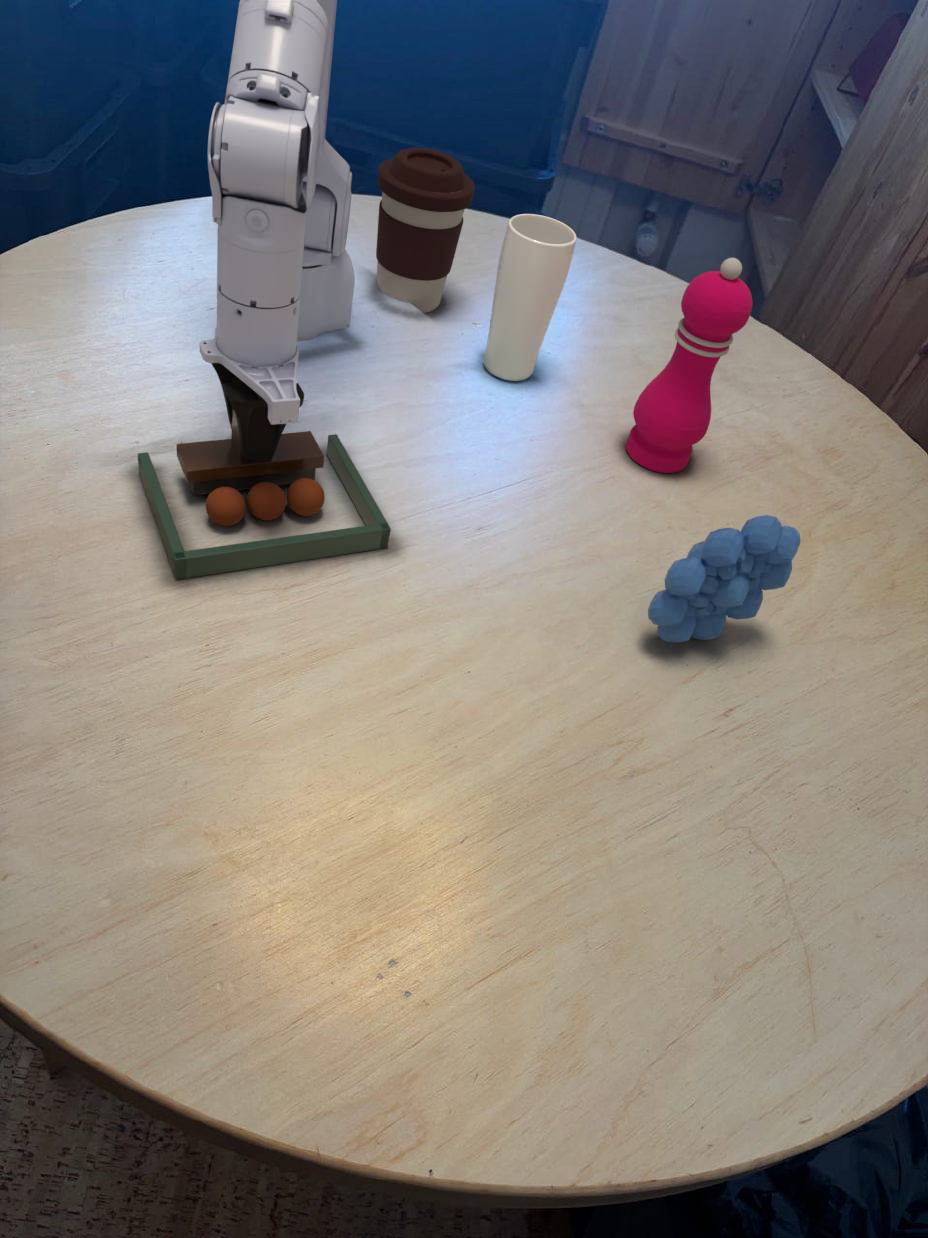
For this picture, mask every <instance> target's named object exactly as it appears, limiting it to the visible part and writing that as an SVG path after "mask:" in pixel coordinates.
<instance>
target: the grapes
mask: <svg viewBox="0 0 928 1238" xmlns="http://www.w3.org/2000/svg"><path fill="white" fill-rule="evenodd" d="M800 544H801V533H800V531H798V529H797V528H796V527H793V526H789V525H783V523H782V522H781V521H780V520H779V518H778V517H777V516H773V515H768V514H766V515H757V516H755V517H751V518H749V519H747V520H746V522H745V523H744V524H743V526H742V528H741V530H740V529H737V528H733V527H725V528H717V529H716V530H712V531H711V532H709V533H708V534H707V536H706V537H705V539H704V541H700V542H697V543H695V544H693V545H692V547H690V549H689V551H688V552H687V555H686V557H685V558H681V559H680V558H679V559H678V560H675V561H673V562H672V563H671V565H670V567H669V568H668V570H667V572H666V574H665V577H664V589H663V590H660V591H657V592H656V593H655V594H654V596H653V597H652V599H651V600H650V602H649V606H648V608H647V617H648V619H649V621H650V622H651V623H652V624H653V625H656V629H657V630H656V631H657V636H658V637H659V638H660V639H661V640H662V641H663V642H667V643H671V644H673V643H674V644H675V643H685V642H688V641H689V640H690V639H691V638H692V639H696V640H700V641H702V640H704V641H705V640H713V639H717V638H719V637H720V635H721V633H722V631H723V630H724V627H725V625H726V621H727V618H730V619H733V620H746V619H752V618H755V617H756V616H757V614H758V612H759V611H760V609H761V607H762V603H763V601H764V591H769V590H770V591H771V590H778V589H781V588H785V586H786V585H787V583H788V581H789V579H790V577H791V573H792V571H793V560H794V558H795V557H796V555H797V553H798V551H799V547H800Z"/></svg>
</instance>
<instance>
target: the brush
mask: <svg viewBox="0 0 928 1238" xmlns="http://www.w3.org/2000/svg"><path fill="white" fill-rule="evenodd" d="M237 382H243V381H242V380H240V379H239V378H238V377H233V379H232V383H237ZM230 436H231V437H230V438H224V439H212V440H203V441H193V442H182V443H176V457H177V460H178V462H179V465H180V467H181V470H182V472H183V475H184V477H185V481H186V483H187V484H188V485H189V488H190V490H191V493H192V495H193V496H199V495H209V494H210V493H211V492H212V491H214V490H215V489H217V488H220V487H231V488H233V489H236V490H237V491H242V490H250V489H251V488H252V487H253V486H254V485H256V484H258V483H261V482H271V483H274V484H276V485H277V486H283V485H291V484H292V483H293V482H294V481H296V480H298V479H301V478H309V479H313V480H315V481H316V474H317V473H316V472H317V471H316V470H317V469H323V468H324V463H325V454H324V453H323V451H322V449H321V448H320V445H319V444H318V442H317V441H316V438H315V437H314V435H313V433H312V431H311V430H306V431H296V432H286V433H282V435H281V437H280V440H279V442H278V445H277V448H276V451H275V453H274V456H273V458H272V460H271V461H270V462H263V463H254V464H246V462H245V460H244V457H243V454H242V450H241V446H240V438H239V430H238V423H237V419H236V415H235V412H234V409H233V407H232V430H231V435H230Z"/></svg>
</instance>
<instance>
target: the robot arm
mask: <svg viewBox="0 0 928 1238" xmlns="http://www.w3.org/2000/svg"><path fill="white" fill-rule="evenodd" d="M337 6H338V0H239V2H238V9H237V11H238V12H237V17H236V22H235V23H236V24H235V31H234V38H233V45H232V50H231V56H230V57H231V58H230V65H229V72H228V77H227V78H228V79H227V84H226V85H227V86H226V92H225V98H224V104H221V102H219V101H216V102H215V104H214V106H213V109H212V113H211V117H210V122H209V128H208V138H207V170H208V178H209V179H208V180H209V186H210V191H211V200H212V201H211V202H212V208H211V209H212V211H211V212H212V215H211V216H212V222H213V223H216V224H217V239H216V240H217V241H216V242H217V243H216V244H217V249H216V250H217V251H216V253H217V255H216V257H217V258H216V259H217V260H216V326H215V332H214V336H213V338H212V339H204V340H201V341H200V342H199V353H200V355H201V357H202V359H203V361H204V362H205V363H208V364H211V366H212V368H213V369H214V371H215V372H216V374H217V377H218V381H219V383H220V386H221V389H222V393H223V397H224V402H225V405H226V406H225V407H226V413H227V416H228V422H229V426H230V431H232V407H233V409H234V412H235V415H236V419H237V423H238V430H239V438H240V446H241V450H242V454H243V457H244V460H245V462H246V464H254V463H263V462H270V461H271V460H272V458H273V456H274V453H275V451H276V448H277V445H278V442H279V440H280V437H281V435H282V434H283V432H284V430H285V428H286V427H287V424H295V423H299V421H300V420H299V419H300V408H301V407H302V406H303V404H304V401H305V393H304V391H303V389H302V387H301V385H300V384H299V382H297V380H298V379H297V378H298V367H299V355H300V350H299V345H298V342H301V341H302V342H303V341H309V340H312V339H314V338H316V337H319V336H321V335H323V334H325V333H329V332H333V331H338V330H343V329H347V328H350V325H351V317H352V309H353V301H354V290H355V283H356V281H355V279H356V278H355V269H354V266H353V261H352V259H351V257H350V255H349V252H348V251H347V250H346V246H347V238H348V233H349V232H348V231H349V223H350V215H351V214H350V213H351V205H352V204H351V203H352V194H353V193H352V182H353V181H352V180H353V173H352V171H351V166H350V164H349V163H348V162H347V161H346V160H345V159H344V157H342V156H341V154H339V153H338V151H337V150H336V149H335V148H334V147H333V146H332V145H331V144H330V143H329V142H328V141H327V139H326V130H327V119H328V107H329V97H330V84H331V74H332V62H333V50H334V38H335V28H336V17H337ZM233 377H238V378H239V379H240V380H242V381H243V382H237V383H232V379H233Z"/></svg>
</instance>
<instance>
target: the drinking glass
mask: <svg viewBox="0 0 928 1238" xmlns="http://www.w3.org/2000/svg"><path fill="white" fill-rule="evenodd" d="M577 239H578V238H577V233H576V232H575V231H574V230H573V229H572V227H570V226H568V225H567V224H565V223H564V222H562V221H560V220H559V219H555V218H552V217H549V216H545V215H542V214H535V213H522V214H516V215H514V216H512V217H510V218H509V219H508V223H507V226H506V230H505V232H504V237H503V241H502V244H501V249H500V253H499V258H498V264H497V270H496V277H495V284H494V291H493V299H492V306H491V314H490V319H489V327H488V334H487V340H486V347H485V350H484V354H483V365H484V367H485V369H486V370H487V371H488V372H489V374H491V375H493V376H495V377H496V378H499V379H501V380H505V381H508V382H509V381H510V382H519V381H520V382H521V381H525V380H526V379H528V378H530V377H531V376H532V374H534V371H535V368H536V363H537V360H538V356H539V354H540V351H541V349H542V346H543V343H544V340H545V337H546V334H547V333H548V329H549V326H550V324H551V321H552V319H553V316H554V313H555V311H556V308H557V306H558V304H559V300H560V297H561V295H562V293H563V292H562V291H563V289H564V287H565V284H566V281H567V278H568V275H569V272H570V268H571V265H572V261H573V256H574V252H575V248H576V243H577Z"/></svg>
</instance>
